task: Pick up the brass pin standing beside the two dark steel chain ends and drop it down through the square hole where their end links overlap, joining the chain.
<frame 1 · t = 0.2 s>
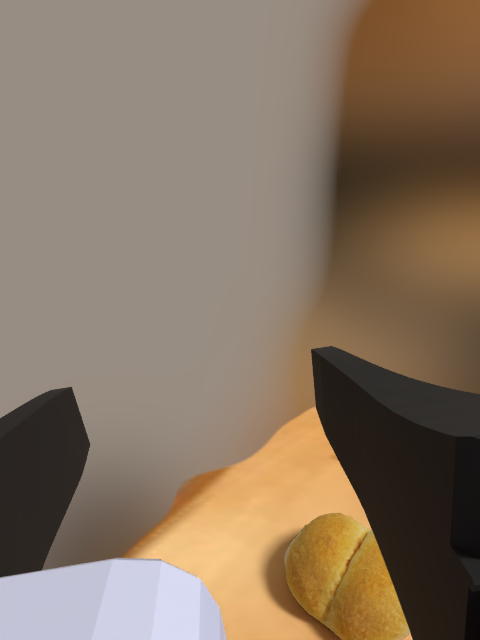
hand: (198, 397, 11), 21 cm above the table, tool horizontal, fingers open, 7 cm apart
bread roll: (348, 588, 28), on the table
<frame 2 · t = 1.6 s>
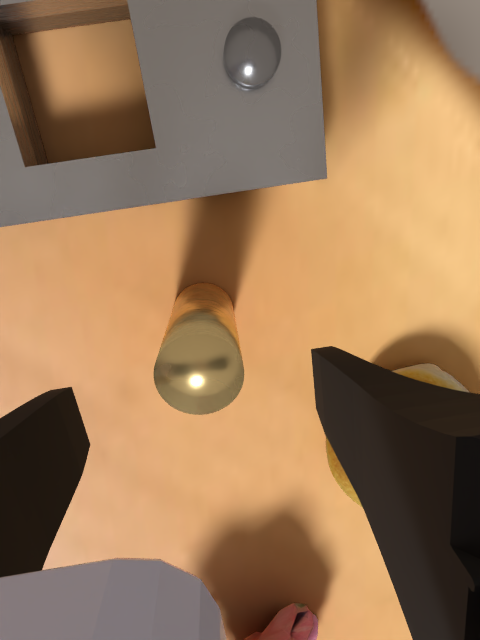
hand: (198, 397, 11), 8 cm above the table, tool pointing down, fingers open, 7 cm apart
flower: (255, 623, 28), on the table
brass pin: (203, 311, 19), on the table
bread roll: (395, 424, 23), on the table
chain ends: (91, 97, 16), on the table
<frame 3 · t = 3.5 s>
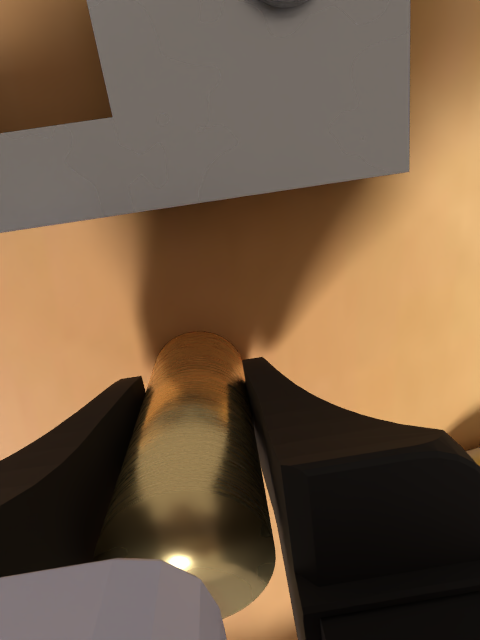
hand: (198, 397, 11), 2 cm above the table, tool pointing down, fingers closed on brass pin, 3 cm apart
brass pin: (199, 372, 13), on the table, touching gripper
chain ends: (12, 37, 10), on the table
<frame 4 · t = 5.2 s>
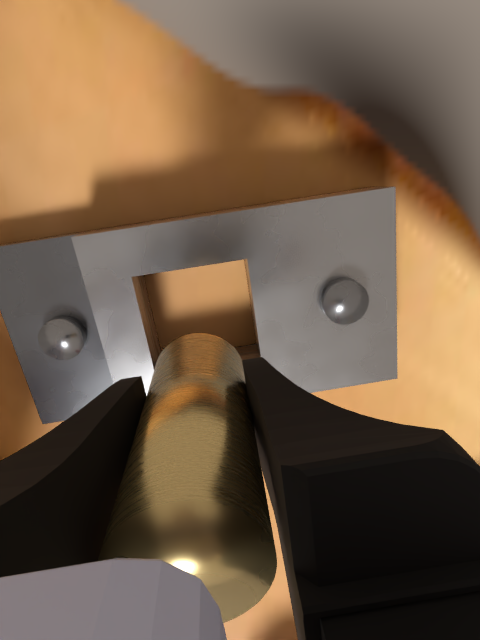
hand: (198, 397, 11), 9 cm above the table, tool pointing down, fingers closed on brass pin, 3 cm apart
brass pin: (199, 373, 13), point 7 cm above the table, touching gripper
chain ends: (201, 306, 20), on the table
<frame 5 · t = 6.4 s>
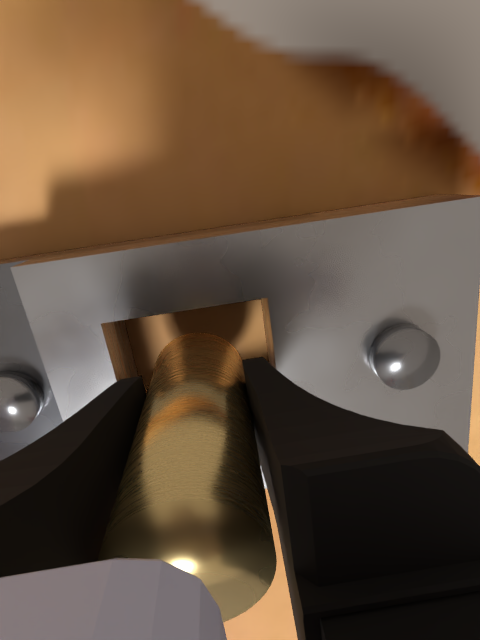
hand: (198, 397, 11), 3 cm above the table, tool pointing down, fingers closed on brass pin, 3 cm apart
brass pin: (199, 373, 13), point 2 cm above the table, touching gripper
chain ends: (201, 353, 15), on the table
when the fingers open (3 cm above the table, at t = 7.3 s): brass pin drops 2 cm, resting in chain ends.
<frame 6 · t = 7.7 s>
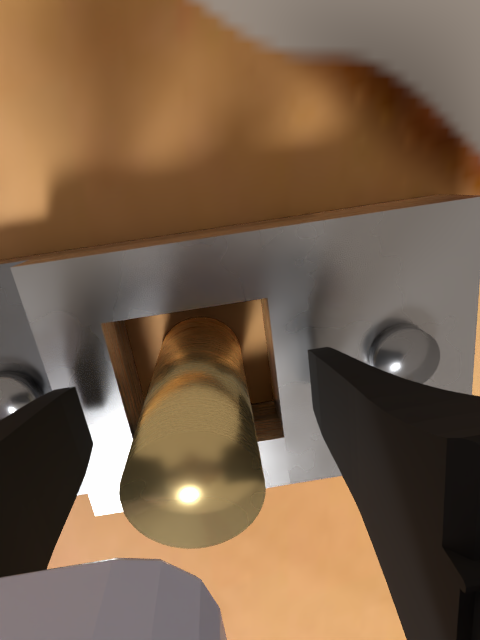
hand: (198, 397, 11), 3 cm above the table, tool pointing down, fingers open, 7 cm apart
brass pin: (201, 354, 15), resting in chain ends
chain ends: (201, 353, 15), on the table
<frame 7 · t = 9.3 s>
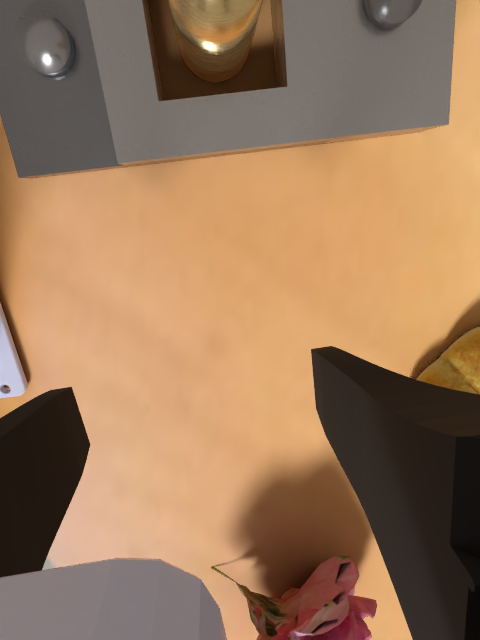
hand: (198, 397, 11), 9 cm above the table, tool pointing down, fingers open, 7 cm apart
flower: (291, 581, 27), on the table
brass pin: (214, 41, 16), resting in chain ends
bread roll: (475, 383, 23), on the table
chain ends: (214, 40, 16), on the table
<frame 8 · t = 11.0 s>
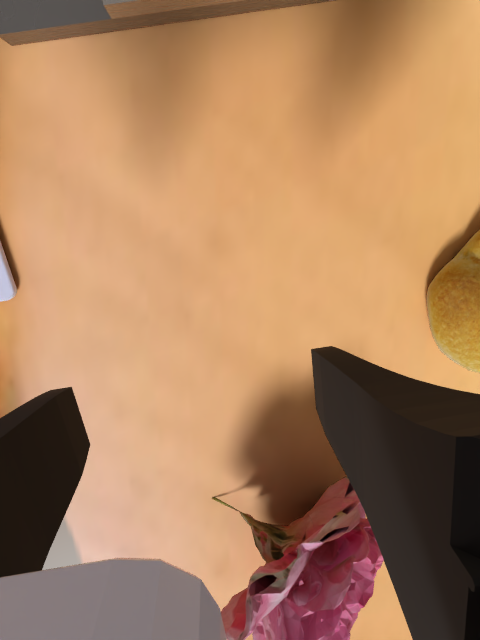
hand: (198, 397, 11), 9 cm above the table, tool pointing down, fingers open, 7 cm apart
flower: (297, 513, 26), on the table
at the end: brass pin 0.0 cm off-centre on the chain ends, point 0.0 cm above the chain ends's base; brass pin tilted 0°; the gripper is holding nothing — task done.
